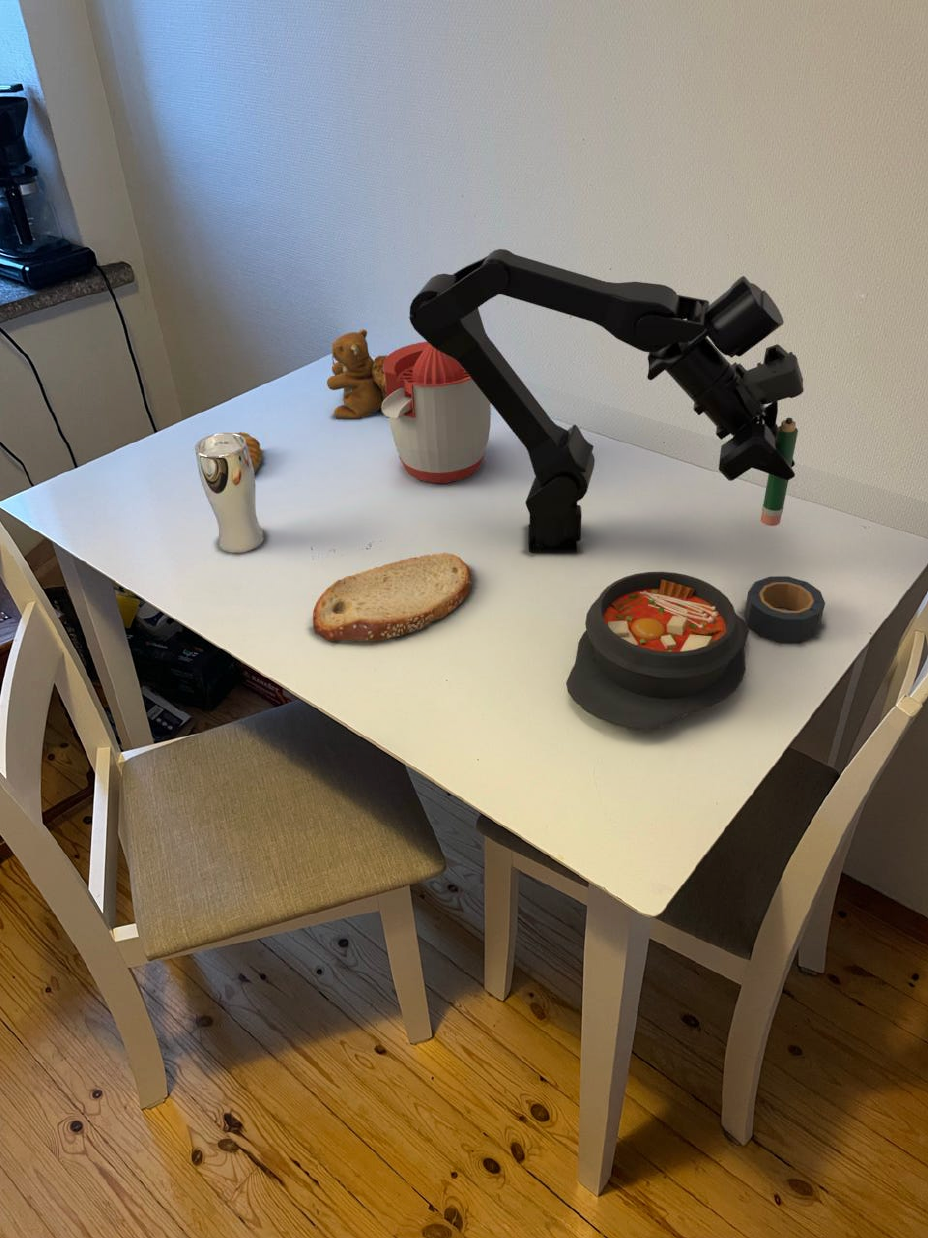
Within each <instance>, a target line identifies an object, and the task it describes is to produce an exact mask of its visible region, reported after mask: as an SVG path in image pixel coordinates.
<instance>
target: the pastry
mask: <svg viewBox="0 0 928 1238" xmlns="http://www.w3.org/2000/svg"><path fill="white" fill-rule="evenodd" d="M235 433H236V434H239V435H241V436H243V437H244V438H245V439H246V443H247V447H248V450H249V453H250V457H251V460H252V465H253V469H254V474H256V473H257V471H258V469H259V467H260V466H261V464H262V459H263V451H262V449H261V443H260V441H259V440H258V439H256V438H255V437H253V436H251V435H250V434H249V433H247V432H242V431H241V432H235Z"/></svg>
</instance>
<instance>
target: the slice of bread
mask: <svg viewBox="0 0 928 1238" xmlns="http://www.w3.org/2000/svg"><path fill="white" fill-rule="evenodd" d="M472 584H473V575H472V573H471V570H470V568H469V565H468V564H467V563H466V562H465V561H464V560H462V558H461V557H459V556H457V555H455V554H452V553H448V552H447V553H446V552H443V553H433V554H426V555H420V556H419V557H416V556H415V557H410V558H408V559H401V560H398V561H395V562H390V563H388V564H383V565H381V566H375V567H374V568H371V569H367V570H363V571H361V572H358V573H355V574H352V575H347V576H345V577H342V579H338V580H336V581H334V582H333V584H331V585H330V586H329V587H327V588H326V589H325V591H323V593H321V595H320V596H319V598H318V600H317V601H316V603H315V606H314V608H313V613H312V626H313V627H312V628H313V630H314V632H315V633H316V634H317V635H319V636H321V637H322V638H324V639H325V640H328V641H329V642H335V643H336V642H339V641H359V642H381V641H386V640H389V639H391V638H392V639H393V638H396V637H401V636H404V635H407V634H412V633H413V632H416V631H419V630H423V629H424V628H425V627H426V626H428V625H429V624H430V623H432V622H434V621H437V620H441V619H443V618H444V617H446V616H447V615H449V614H451V613H452V612H453V611H454V610H455V609H456V608H457V607H458V606H460V604H462V602H464V601H465V599H466V598H467V596H468V594H469V593H470V590H471V588H472Z"/></svg>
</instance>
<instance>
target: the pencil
mask: <svg viewBox="0 0 928 1238" xmlns="http://www.w3.org/2000/svg"><path fill="white" fill-rule="evenodd" d="M796 424H797V423H796V422H795V421H794V420H793V418H792V417H787V418H785V419H783V420H782V421H781V424H780V425H779V426H778V436H777V439H776V443H777V445H778V447H779V448H780V450H781V451H782V453H783V455H784V456H785V458H786V459H787V461H788V463H789V464H790V466H791V465H792V460H794V454H795V449H796V444H797V439H798V434H799V430H798V428H797V427H796ZM788 484H789V480H785V479H782V478H779V477H777V476H774V475H771V474H769V473H768V475H767V481H766V486H765V492H764V498H763V503H762V507H761V514H760V522H761V523H762V524H763V525H765V526H770V527H774V526H778V525H780V524H781V521H782V515H783V513H784V509H785V507H784V505H785V501H786V495H787V490H788Z"/></svg>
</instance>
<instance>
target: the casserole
mask: <svg viewBox="0 0 928 1238" xmlns="http://www.w3.org/2000/svg"><path fill="white" fill-rule="evenodd" d="M584 623H585V624H584V625H585V631H584V632H583V633H582V635H581V637H580V639H579V641H578V644H577V649H576V656H575V663H574V665H573V666H572V669H571V671H570V673H569V675H568V678H567V679H566V683H565V684H566V690H567V693H568V695H569V696H570V697H571V698H572V700H573V701H574V702H575V704H577V705H578V706H579V707H581V708H582V709H583V710H584V711H585V712H587V713H589V714H591V715H592V716H594V717H595V718H596V719H599V720H602V721H604V722H606V723H609V724H611V725H614V726H618V727H622V728H625V729H629V730H635V731H636V730H637V731H650V730H651V731H652V730H659V729H661V728H662V727H665V726H667V725H669V724H671V723H673V722H675V721H677V720H678V719H681V718H682V717H683V716H686V715H690V714H693V713H696V712H700V711H702V710H705V709H709V708H711V707H714V706H716V705H718V704H720V703H721V702H724V701H725V700H727V699H728V698H729V697H730V696H732V694H734V693H735V692H736V691H737V690H738V688H739V687H740V685H741V683H742V682H743V680H744V677H745V673H746V653H745V648H746V645H747V641H748V638H749V633H750V628H749V627H748V625H747V622H746V621H744V619H743V618H742V617H741V616H740V615H739V614H737V613H736V611H735V608H734V605H733V603H732V602H731V601H730V600H729V598H728V596H726V595H725V594H724V593H723V592H722V591H721V590H720V589H718V588H717V587H715V586H714V585H712V584H711V583H709V582H706V581H704V580H703V579H700V578H698V577H694V576H691V575H687V574H683V573H677V572H670V571H646V572H639V573H634V574H631V575H626V576H624V577H621V578H619V579H616V580H615V581H614V582H612V583H610V584H609V585H607V586H606V588H605V589H603V590H602V592H601V593H600V594H599V596H598V597H597V599H596V600H595V601H594V602H593V603H592V604H591V605H590V607H589V609H588V611H587V613H586V617H585V622H584Z"/></svg>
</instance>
